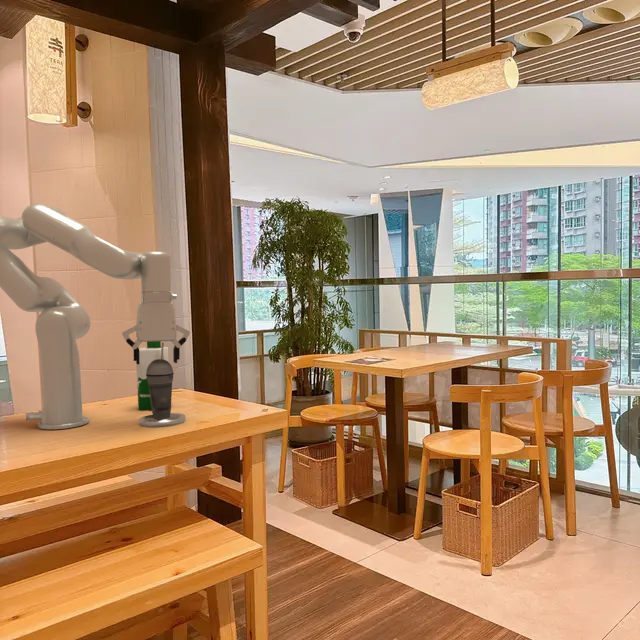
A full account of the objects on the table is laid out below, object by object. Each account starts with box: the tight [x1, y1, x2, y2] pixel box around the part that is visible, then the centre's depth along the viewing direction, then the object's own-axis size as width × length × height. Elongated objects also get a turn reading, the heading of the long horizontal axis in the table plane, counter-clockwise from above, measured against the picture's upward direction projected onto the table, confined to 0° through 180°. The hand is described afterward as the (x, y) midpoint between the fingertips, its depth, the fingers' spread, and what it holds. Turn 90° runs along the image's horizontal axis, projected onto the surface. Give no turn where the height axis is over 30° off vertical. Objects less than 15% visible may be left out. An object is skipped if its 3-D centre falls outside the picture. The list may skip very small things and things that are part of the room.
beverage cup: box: [146, 342, 175, 419], centre depth 159 cm, size 7×7×20 cm
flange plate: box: [138, 412, 187, 428], centre depth 159 cm, size 12×12×1 cm
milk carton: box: [135, 341, 169, 411], centre depth 179 cm, size 9×9×20 cm
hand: (156, 363), depth 158 cm, fingers open, 9 cm apart
